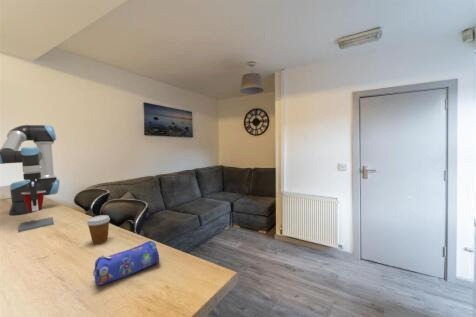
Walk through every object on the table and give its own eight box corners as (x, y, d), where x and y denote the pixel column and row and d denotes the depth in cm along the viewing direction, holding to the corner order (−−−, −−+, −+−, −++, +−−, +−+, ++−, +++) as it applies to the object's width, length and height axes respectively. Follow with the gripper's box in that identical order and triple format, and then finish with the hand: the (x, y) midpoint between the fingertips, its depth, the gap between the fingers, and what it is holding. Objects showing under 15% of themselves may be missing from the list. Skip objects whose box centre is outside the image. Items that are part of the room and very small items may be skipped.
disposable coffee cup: (100, 247, 98) (98, 222, 97) (83, 245, 100) (81, 221, 99) (115, 237, 107) (114, 215, 106) (100, 236, 109) (98, 214, 108)
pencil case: (94, 293, 67) (92, 265, 67) (91, 280, 74) (89, 254, 73) (162, 265, 82) (161, 242, 81) (154, 257, 88) (153, 235, 88)
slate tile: (20, 224, 128) (20, 223, 128) (52, 218, 139) (52, 216, 139) (18, 232, 118) (18, 230, 117) (53, 224, 128) (53, 222, 128)
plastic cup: (52, 207, 132) (50, 189, 131) (34, 213, 121) (32, 193, 121) (36, 207, 133) (35, 189, 132) (17, 213, 122) (15, 193, 122)
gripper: (40, 173, 121) (44, 211, 122) (40, 170, 136) (43, 204, 138) (22, 174, 115) (26, 214, 117) (24, 171, 131) (27, 207, 132)
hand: (35, 209), depth 127 cm, fingers closed on plastic cup, 9 cm apart
